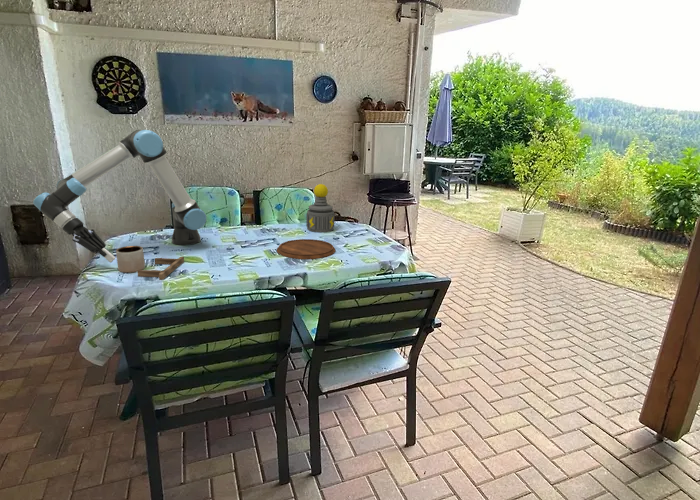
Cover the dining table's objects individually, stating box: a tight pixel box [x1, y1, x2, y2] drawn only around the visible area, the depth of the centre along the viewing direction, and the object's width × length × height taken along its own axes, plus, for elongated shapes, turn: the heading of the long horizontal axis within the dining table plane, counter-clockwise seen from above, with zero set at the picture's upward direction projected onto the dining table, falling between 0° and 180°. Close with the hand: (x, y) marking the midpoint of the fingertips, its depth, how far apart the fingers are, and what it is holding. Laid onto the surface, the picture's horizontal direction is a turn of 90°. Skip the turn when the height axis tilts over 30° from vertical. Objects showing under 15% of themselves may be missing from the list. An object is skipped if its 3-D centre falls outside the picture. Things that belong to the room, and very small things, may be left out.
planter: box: [115, 245, 146, 274], centre depth 180 cm, size 11×11×10 cm
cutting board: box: [276, 238, 336, 260], centre depth 219 cm, size 32×32×2 cm
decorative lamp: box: [305, 183, 336, 233], centre depth 260 cm, size 19×19×30 cm
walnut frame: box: [136, 256, 185, 281], centre depth 181 cm, size 24×12×2 cm, turn 1°
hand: (113, 260), depth 180 cm, fingers closed
